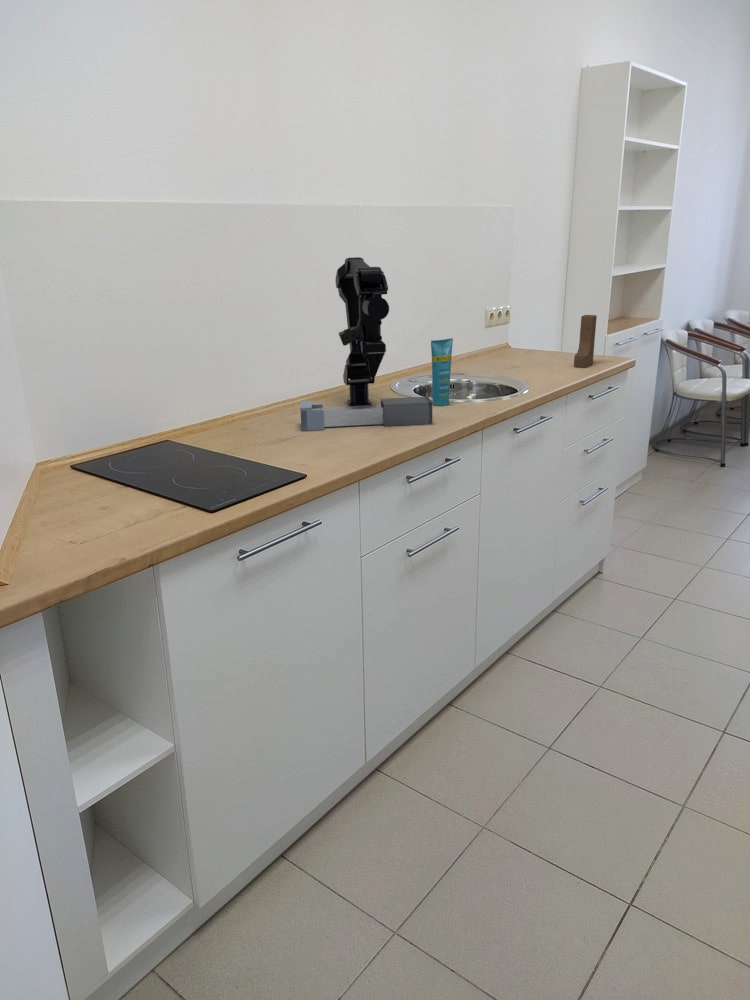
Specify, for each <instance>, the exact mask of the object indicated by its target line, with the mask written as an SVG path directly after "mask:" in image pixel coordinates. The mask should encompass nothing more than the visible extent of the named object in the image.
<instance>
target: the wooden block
mask: <svg viewBox="0 0 750 1000" xmlns="http://www.w3.org/2000/svg"><path fill="white" fill-rule="evenodd" d="M597 317H598V316H597V314H596V315H595V314H584V315H581V316H580V329H579V331H580V332H579V343H578V349H577V352H576V353H575V354H574V357H573V358H574V360H573V367H574V368H580V369H581V368H582V369H586V368H587V367H589V366H592V365H593V363H594V350H595V344H596V343H595V342H596V341H595V340H596V330H597V329H596V328H597Z"/></svg>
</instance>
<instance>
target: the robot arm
mask: <svg viewBox="0 0 750 1000" xmlns="http://www.w3.org/2000/svg"><path fill="white" fill-rule="evenodd" d="M364 260H365V259H364V258H363V257H358V256H357V257H355V256H354V257H347V258H345V260H344V263H343V264H342V265H341V266H340V267H338V268H337V270H336V274H335V288H336V289H337V290H338V291H337V292H338V296H339V297H340V299H341V300H342V301H343V303H344V306H345V313H346V316H345V317H346V323H347V328H345V329H344V330H342V331H339V332H338V336H339V339H340V341H341V343H342V346H348V345H349V351H350V352H349V354H348V356H347V358H346V361H345V365H344V369H343V375H342V376H343V378H342V380H343V384H344V385H346V386H348V388H349V399H347V403H348V406H364V405H372V402H371V401H370V398H369V395H370V394H369V384H373V385H374V384H375V382H376V381H375V380H376V379H375V378H376V376H377V373H378V371H379V368H380V365H381V363H382V361H383V359H384V356H385V354H386V352H387V344H386V343H385V341H383V337H382V333H381V331H382V328H381V327H382V326H381V325H382V320H384V319H385V318H386V317H387V316H388V315H389V312H390V306H389V303H388V301H387V300H386V299H385V298H383V295H387V294H388V291H389V286H388V285H389V284H388V281H387V278H386V275H385V272H384V271H383V270H382V268H381V267H380V266H370V265H369V264H368V263H367V262H365V261H364Z"/></svg>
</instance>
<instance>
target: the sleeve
mask: <svg viewBox="0 0 750 1000" xmlns="http://www.w3.org/2000/svg"><path fill="white" fill-rule="evenodd" d="M380 405H383V407H384V424H383V427H401V426H420V425H433V400H431V399H430V397H428V396H415V397H414V396H413V397H412V396H411V397H410V396H409V397H391V398H390V397H389V398H380Z"/></svg>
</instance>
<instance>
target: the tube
mask: <svg viewBox="0 0 750 1000" xmlns="http://www.w3.org/2000/svg"><path fill="white" fill-rule="evenodd" d="M453 343H454V338H453V337H450V338H444V339H438V340H430V347H431V348H430V349H431V381H432V383H431V385H432V386H431V387H432V390H431V391H432V398H431V399H432V406H433V405H434V406H440V407H444V406H448V405H449V404H450V403H449V402H450V386H451V385H450V384H451V369H452V355H453V354H452V353H453Z"/></svg>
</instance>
